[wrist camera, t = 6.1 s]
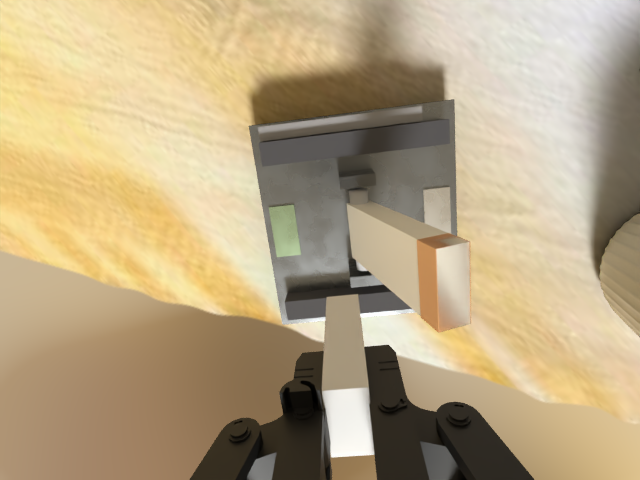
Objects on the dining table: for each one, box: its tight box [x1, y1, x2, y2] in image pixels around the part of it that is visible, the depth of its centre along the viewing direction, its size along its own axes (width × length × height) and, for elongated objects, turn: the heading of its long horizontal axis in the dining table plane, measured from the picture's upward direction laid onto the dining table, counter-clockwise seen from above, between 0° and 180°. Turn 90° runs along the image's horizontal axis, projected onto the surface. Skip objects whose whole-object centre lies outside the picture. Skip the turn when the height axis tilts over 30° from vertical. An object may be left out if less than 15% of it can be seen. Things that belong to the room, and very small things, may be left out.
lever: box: [347, 188, 471, 333], centre depth 28 cm, size 7×2×15 cm, turn 7°
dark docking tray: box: [258, 106, 450, 320], centre depth 36 cm, size 18×16×2 cm
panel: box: [249, 99, 457, 324], centre depth 37 cm, size 20×18×6 cm
